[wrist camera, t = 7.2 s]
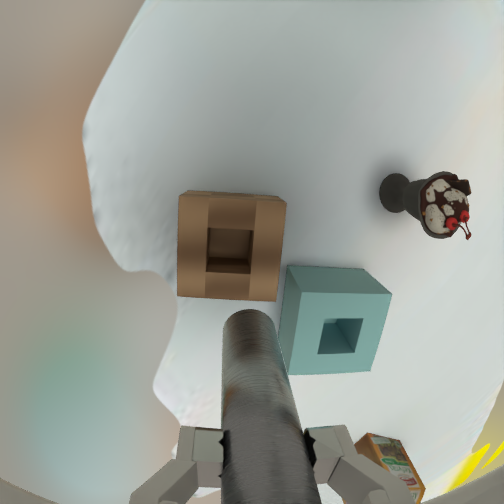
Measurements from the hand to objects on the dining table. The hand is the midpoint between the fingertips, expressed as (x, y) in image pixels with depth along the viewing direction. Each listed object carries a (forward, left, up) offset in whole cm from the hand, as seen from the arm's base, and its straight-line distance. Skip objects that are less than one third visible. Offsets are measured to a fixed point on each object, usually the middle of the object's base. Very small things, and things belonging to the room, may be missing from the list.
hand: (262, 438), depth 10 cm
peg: (0, 0, -8) cm, 8 cm away
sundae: (-8, +19, -27) cm, 34 cm away
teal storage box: (+7, +11, -27) cm, 30 cm away
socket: (-1, -1, -27) cm, 27 cm away
